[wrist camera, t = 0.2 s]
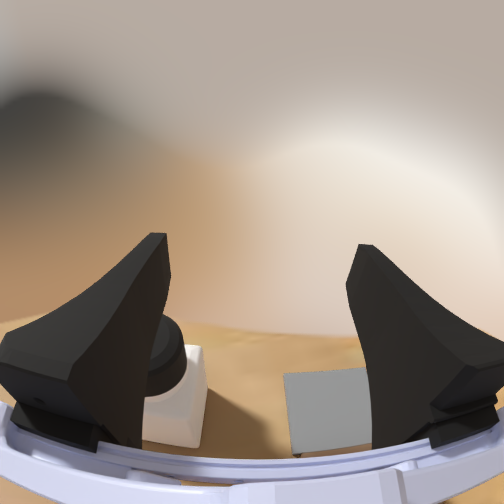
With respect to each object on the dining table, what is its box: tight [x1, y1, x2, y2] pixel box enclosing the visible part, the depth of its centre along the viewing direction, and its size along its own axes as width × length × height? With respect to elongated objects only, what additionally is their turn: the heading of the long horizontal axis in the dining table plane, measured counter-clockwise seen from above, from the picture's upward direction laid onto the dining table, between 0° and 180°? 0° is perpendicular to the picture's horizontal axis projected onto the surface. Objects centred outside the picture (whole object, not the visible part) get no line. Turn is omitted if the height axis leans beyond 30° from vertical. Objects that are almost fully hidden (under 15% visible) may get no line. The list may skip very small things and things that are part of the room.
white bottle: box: [142, 314, 208, 448], centre depth 23 cm, size 7×7×12 cm
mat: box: [283, 367, 372, 455], centre depth 27 cm, size 9×9×1 cm
